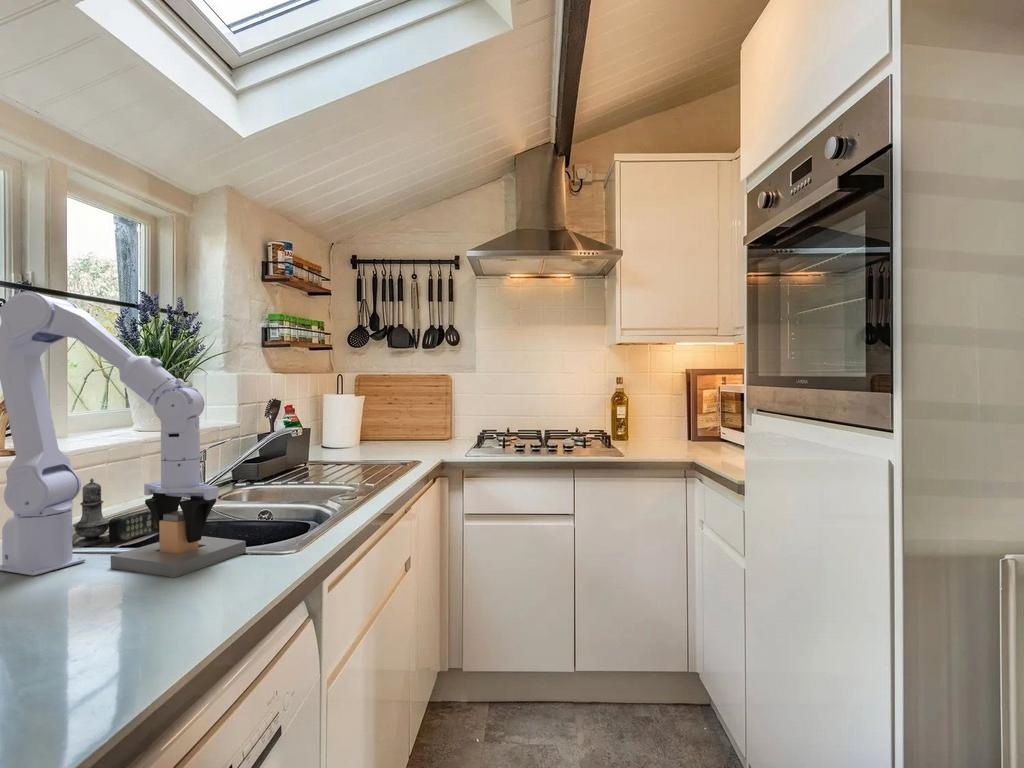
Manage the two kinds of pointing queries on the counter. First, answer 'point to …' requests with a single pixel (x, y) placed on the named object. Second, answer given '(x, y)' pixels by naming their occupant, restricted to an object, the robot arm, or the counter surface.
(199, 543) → the socket plate
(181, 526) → the plug
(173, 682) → the counter surface
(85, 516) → the salt shaker
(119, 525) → the mobile phone
